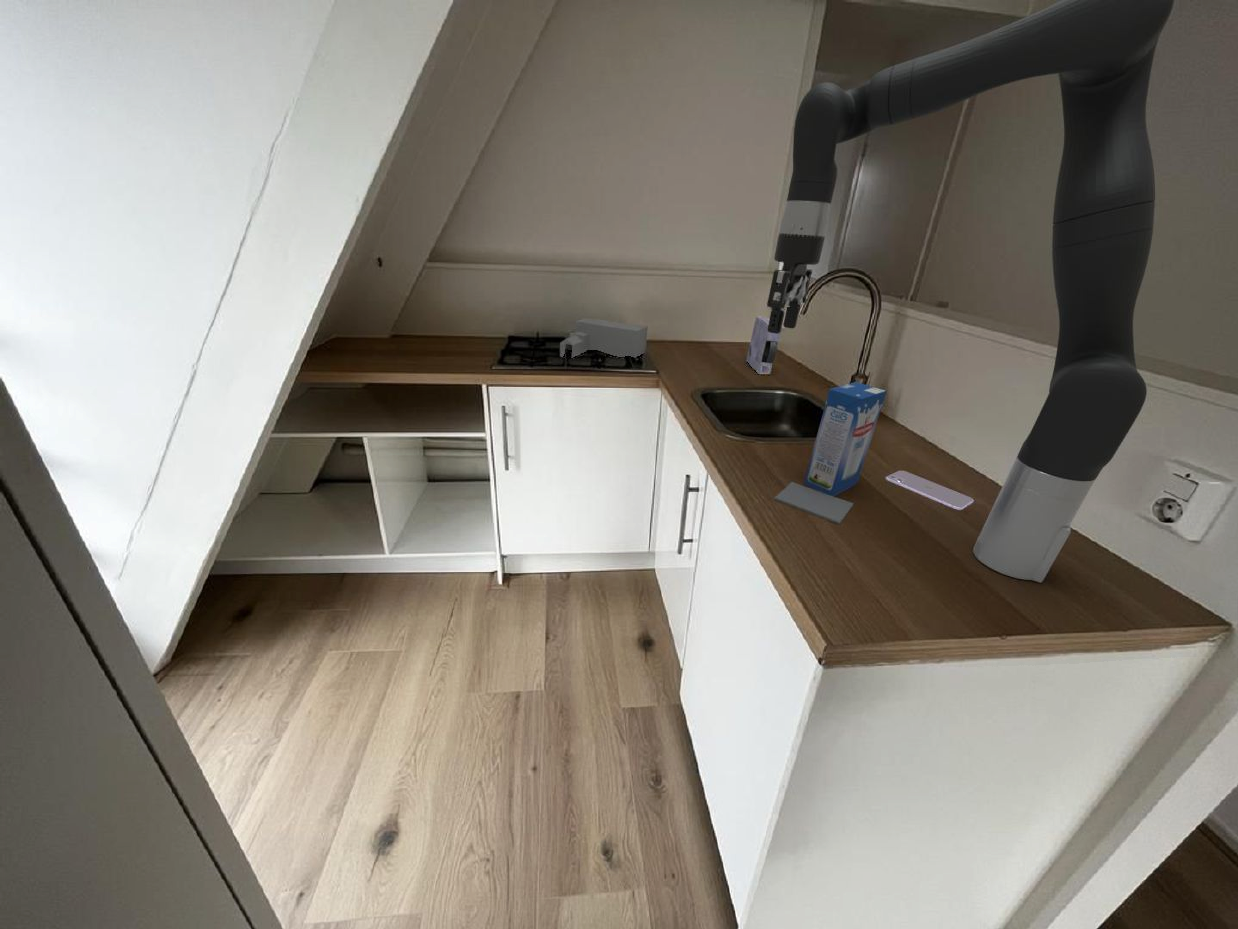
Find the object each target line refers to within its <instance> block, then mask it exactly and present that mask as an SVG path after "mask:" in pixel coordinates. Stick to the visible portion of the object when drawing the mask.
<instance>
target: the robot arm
mask: <svg viewBox="0 0 1238 929" xmlns="http://www.w3.org/2000/svg"><path fill="white" fill-rule="evenodd" d="M1174 2H1175V0H1059V1H1058V2H1055V3H1053V4H1051V5H1049V6H1048V7H1045V8H1043V9H1041V10H1039V11H1037V12H1035V13H1032V14H1030V15H1027V16H1026V17H1023V18H1021V19H1018V20H1016V21H1014V22H1012V23H1010V24H1009V23H1008V24H1007V25H1005V26H1002V27H1000V28H998V29H995V30H993V31H990V32H988V33H985V34H982V35H979V36H977V37H975V38H972V39H969V40H966V41H964V42H960V43H958V44H956V45H953V46H949V47H946V48H944V49H941V50H938V51H934V52H932V53H929V54H925V55H923V56H919V57H916V58H913V59H909V60H907V61H904V62H901V63H898V64H895V65H892V66H889V67H887V68H884V69H881V70H880V71H877V73H875V74H874V75H873V76H872V77H871V78H870V81H869V82H866V83H864V84H861V85H860V86H859V85H858V86H856V87H854V88H850V89H846V90H844V89H843V88H841V87H840V85H837V84H836V83H833V82H828V81H827V82H821V83H819V84H818V83H817V85H814V86H813V87H812V88H810V89H809V90H808V91H807V92H806V94H805V95H804V97H803V98H802V100H801V101H800V104H799V107H798V109H797V112H796V116H795V121H794V127H793V146H792V173H791V178H790V181H789V182H790V183H789V187H788V192H787V193H788V194H787V197H786V203H785V206H784V209H783V213H782V217H781V220H780V226H779V230H778V231H779V232H778V236H777V241H776V246H775V252H774V258H773V259H774V261H775V262H778V263H779V262H780V263H783V264H782V268H781V269H775V270H774V271H773V275H772V279H771V283H770V285H771V286H770V289H769V294H768V298H767V302H766V307H768V308H769V310H770V315H769V319H770V320H769V325H768V332H770V333H776V334H778V333H780V332H782V329H781V328H783V327H784V328H788V329H795V328H796V326H797V323H798V319H799V314H800V309H801V308H802V307H803V304H805V303H806V302H807V297H808V292H809V287H810V283H811V278H812V274H813V270H812V269H809V268H808V265H810V266H815V265H818V264H820V263H819V262H820V260H821V256H822V251H823V247H824V242H825V238H826V234H827V230H828V226H829V221H830V220H829V219H830V211H831V206H832V205H831V204H832V200H833V196H834V191H835V187H836V183H837V178H838V166H837V164H836V160H835V154H836V149H837V144H842V143H844V142H845V143H846V142H847V141H851V140H853V139H856V138H858V137H860V136H863V135H865V134H868V133H870V132H872V131H874V130H876V129H879V128H882V127H888V126H891V125H895V124H896V125H897V124H900V123H903V122H907V121H911V120H914V119H919V118H922V117H924V116H928V115H931V114H935V113H937V112H941V111H942V110H945V109H947V108H950V107H953V106H955V105H958V104H959V103H962V102H964V101H966V100H969V99H971V98H973V97H974V96H977V95H979V94H982V93H984V92H987V91H990V90H992V89H996V88H998V87H1001V86H1004V85H1008V84H1011V83H1014V82H1020V81H1022V80H1023V81H1024V80H1026V79H1031V78H1035V77H1036V78H1037V77H1042V76H1048V75H1050V76H1051V75H1056V74H1058V80H1059V85H1060V96H1061V105H1062V116H1063V134H1064V136H1063V148H1062V155H1061V161H1060V166H1059V170H1058V177H1057V183H1056V190H1055V196H1054V197H1055V198H1054V204H1053V215H1052V236H1051V237H1052V238H1051V239H1052V242H1051V245H1052V246H1051V248H1052V250H1051V255H1052V257H1051V258H1052V259H1051V260H1052V271H1053V272H1052V273H1053V274H1052V275H1053V282H1054V291H1055V298H1056V302H1057V303H1056V304H1057V309H1058V319H1059V323H1058V326H1059V328H1058V339H1057V347H1056V354H1055V360H1054V366H1053V372H1052V376H1051V380H1050V382H1049V388H1048V395H1047V396H1046V399H1045V401H1044V403H1043V405H1042V407H1041V410H1040V412H1039V413H1038V415H1037V418H1036V419H1035V422H1034V424H1033V426H1032V429H1031V430H1030V432H1029V433H1028V435H1027V437H1026V438H1025V440H1024V441H1023V443H1022V445H1021V447H1020V449H1019V451H1018V454H1017V456H1016V457H1015V460H1014V461H1013V464H1012V466H1011V468H1010V471H1009V472H1008V475H1007V477H1006V479H1005V481H1004V483H1003V485H1002V487H1001V489H1000V491H999V493H998V495H997V498H996V500H995V501H994V503H993V506H992V508H991V510H990V512H989V514H988V517H987V518H986V521H985V523H984V525H983V527H982V530H981V531H980V533H979V535H978V537H977V539H976V542H975V543H974V544H975V545H974V546H973V549H972V553H973V554H974V556H975V558H976V559H977V560H978V561H979V562H981V564H984V565H985V566H987V567H988V568H990V569H991V570H993V571H996V572H998V573H1000V574H1002V575H1005V576H1009V577H1011V578H1015V579H1021V580H1026V581H1033V582H1037V583H1042V584H1043V581H1044V580H1045V578H1046V576H1047V574H1048V573H1049V570H1050V569H1051V567H1052V565H1053V564H1054V562H1055V560H1056V558H1057V557H1058V555H1059V553H1060V551H1061V550H1062V548H1063V546H1064V544H1065V543H1066V541H1067V539H1068V538H1069V536H1070V535H1071V533H1072V530H1071V529H1072V528H1071V524H1072V522H1073V521H1074V518H1075V517H1076V515H1077V513H1078V511H1079V509H1080V508H1081V506H1082V504H1083V502H1084V500H1085V499H1086V497H1087V495H1088V494H1089V492H1090V490H1091V489H1092V487H1093V485H1094V483H1095V481H1096V480H1097V478H1098V476H1099V475H1100V473H1101V471H1102V470H1103V469H1104V467H1106V466H1107V465H1108V464H1109V463H1110V462H1111V461H1112V459H1113V458H1114V456H1115V455H1116V453H1117V451H1118V449H1119V447H1121V445H1122V443H1123V442H1124V439H1125V438H1126V436H1127V435H1128V434H1129V431H1130V430H1131V428H1132V427H1133V425H1134V424H1135V421H1136V420H1137V418H1138V416H1139V415H1140V412H1142V408H1143V407H1144V404H1145V402H1146V398H1147V395H1148V394H1147V392H1148V391H1147V384H1146V382H1145V380H1144V378H1143V376H1142V375H1141V374H1140V373H1139V371H1138V369H1137V365H1136V358H1135V347H1134V346H1135V344H1134V342H1135V341H1134V340H1135V339H1134V314H1135V308H1136V303H1137V300H1138V296H1139V293H1140V289H1141V287H1142V286H1141V285H1142V283H1143V279H1144V276H1145V273H1146V268H1147V265H1148V260H1149V257H1150V252H1151V245H1152V241H1153V240H1152V238H1153V232H1154V222H1155V208H1156V206H1155V205H1156V202H1155V201H1156V181H1155V170H1154V168H1155V167H1154V162H1153V161H1154V160H1153V155H1152V150H1151V146H1150V145H1151V144H1150V139H1149V134H1148V128H1147V117H1146V116H1147V112H1146V111H1147V102H1148V101H1147V99H1148V91H1149V86H1150V80H1151V73H1152V68H1153V67H1152V66H1153V62H1154V57H1155V52H1156V48H1157V45H1158V41H1159V38H1160V36H1161V34H1162V31H1163V29H1164V28H1165V26H1166V24H1167V22H1168V20H1169V18H1170V16H1171V13H1172V10H1173V7H1174ZM780 334H781V333H780Z"/></svg>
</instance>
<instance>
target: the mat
mask: <svg viewBox="0 0 1238 929" xmlns="http://www.w3.org/2000/svg"><path fill="white" fill-rule="evenodd" d="M774 501H776V502H779V503H783V504H785V505H788V506H790V507H793V508H795V509H798V510H799V511H803V512H806V513H808V514H811V515H813V516H816V517H819V518H821V519H825V520H827V521H829V522H832V523H834V524H837V525H841V523H842V521H843V520H844V518H845V517H846V516H847V514H848V513H849V512H850V511H851V509H852V508H853V506H854V503H853V502H851V501H847V500H844V499H842V498H839V497H836V496H831V495H828V494H825V493H823V492H821V491H818V490H816V489H814V488H812V487H809V486H804V485H801V484H799V483H796V482H794V481H791V482H790V483H789V484H788V485H787V486H785V487H784V489H783V490H782V491H780V492H779V493H778V494H777V495H776V496H775V497H774Z"/></svg>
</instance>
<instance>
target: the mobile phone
mask: <svg viewBox="0 0 1238 929" xmlns="http://www.w3.org/2000/svg"><path fill="white" fill-rule="evenodd" d="M885 480H886V481H888V482H891V483H892V484H895V485H897V486H900V487H902V488H904V489H906V490H910V491H912V492H913V493H915V494H919V495H922V497H925V498H928V499H930V500H932V501H934V502H938V503H939V504H941V505H942V504H943V505H944V506H946V507H949V508H952V509H954V510H958V511H962V510H964V509H965V508H967V507H968V506H970V505H972V504H973V503H974V499H973V498H972V497H971V496H969V495H966V494H963V493H960V492H958V491H955V490H954V489H950V488H947V487H945V486H943V485H940V484H939V483H936V482H933V481H931V480H928V479H926V478H923V477H921V476H919V475H916V474H913V473H911V472H908V471H906V470H898V471H896V472H894V473H891V474H888V475H887V476H885Z"/></svg>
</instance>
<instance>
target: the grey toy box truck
mask: <svg viewBox="0 0 1238 929" xmlns="http://www.w3.org/2000/svg"><path fill="white" fill-rule="evenodd" d="M648 329H649V328H648V325H641V324H634V323H627V322H621V321H612V320H606V319H602V318H601V319H599V318H594V317H593V318H592V317H585V318H582V319H579V320H576V321H574V331H573V332H571V333H569V336H568V337H566V338H565V339H563V340H562V341H560V343H559V357H560V358H564V357H563V356H564V354H565V349H566V348H567V349H568V350H572V352H571V359H572V358H573V357H575V356H578V355H580V354H581V353H584V352H586V351H587V350H598V351H601V352H604V353H607V354H610V355H613V356H617V357H616V358H618V357H625V356H631V357H634V358H636V357H637V356H640V355H641V354H643V353H645V354H646V348H647V340H648V339H647V338H648ZM565 355H566V354H565ZM580 356H581V355H580ZM578 357H579V356H578ZM573 359H574V358H573Z"/></svg>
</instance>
